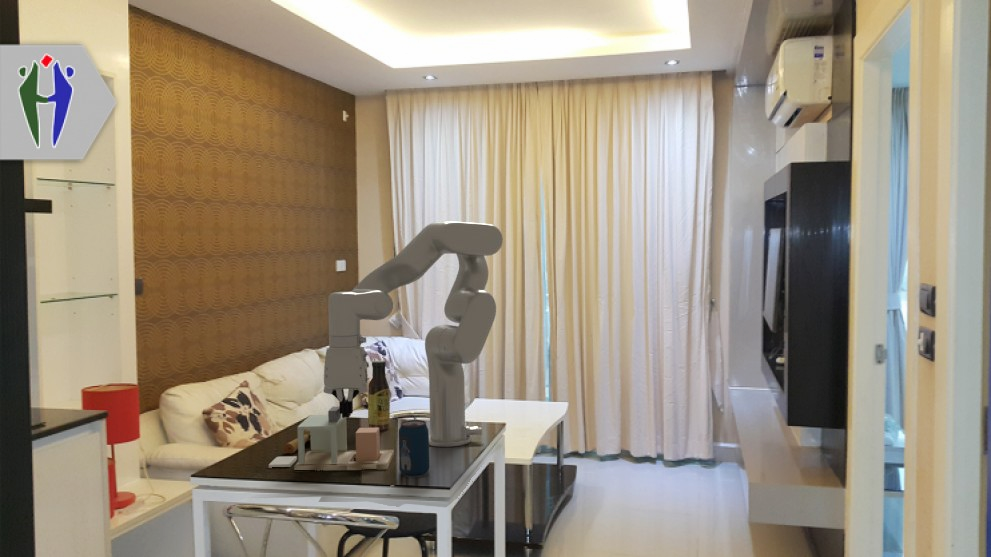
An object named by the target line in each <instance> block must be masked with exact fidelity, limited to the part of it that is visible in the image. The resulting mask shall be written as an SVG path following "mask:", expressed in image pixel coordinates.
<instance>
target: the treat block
mask: <svg viewBox="0 0 991 557" xmlns="http://www.w3.org/2000/svg"><path fill="white" fill-rule="evenodd" d="M380 435H381V434H380V430H379V428H369V427H359V428H358V429H357V430H356V432H355V451H356V458H355V461H379V459H380V450H381V444H380V441H381V440H380V439H381V438H380Z"/></svg>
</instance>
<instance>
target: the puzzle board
mask: <svg viewBox="0 0 991 557" xmlns="http://www.w3.org/2000/svg"><path fill="white" fill-rule="evenodd" d="M394 456H395V449H380V459H379V461H356V460H355V459H356V450H337V459H338V462H337V463H332V464H331V450H325V451H311V450H309V451H307V452H306V453H305V463H304V464H299V461H297V462H296V464H294V466H293V468H294V470H315V471H316V470H317V472H319V471H320V470H321V471H322V470H323V471H363V470H364V469H377V470H388V468H389V466H390V464H391V462H392V460H393V458H394ZM354 458H355V459H354ZM354 460H355V461H354ZM362 469H363V470H362ZM294 470H293V471H294ZM315 471H314V472H315ZM364 471H365V470H364Z"/></svg>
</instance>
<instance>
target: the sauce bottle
mask: <svg viewBox="0 0 991 557" xmlns="http://www.w3.org/2000/svg"><path fill="white" fill-rule="evenodd" d="M371 367H372V377H371V379H370V381H369V383H368V393H367V414H368V415H367V423H368V428H379V431H385V430H388V429H389V428H390V423H391V422H390V421H391V420H390V419H391V412H390V411H391V407H390V406H391V405H390V404H391V398H390V397H391V394H390V390H391V389H390V387H389V383H388V380H387V376H386V375H387V374H386V367H387V363H386V361H385V360H372V362H371Z"/></svg>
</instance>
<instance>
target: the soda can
mask: <svg viewBox="0 0 991 557" xmlns="http://www.w3.org/2000/svg"><path fill="white" fill-rule="evenodd" d="M429 435H430V428H428V425H427V421H425V420H421V419H420V420H419V419H410V420H405V421H402V422H401V423H400V427H399V429H398V459H399V462H398V463H399V470H400V473H401V474H402V476H403V477H405V476H406V477H405V478H412V477H414V478H420V477H421V478H422V477H425V476H426V475H427V474H428V472H429V470H430V445H429Z"/></svg>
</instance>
